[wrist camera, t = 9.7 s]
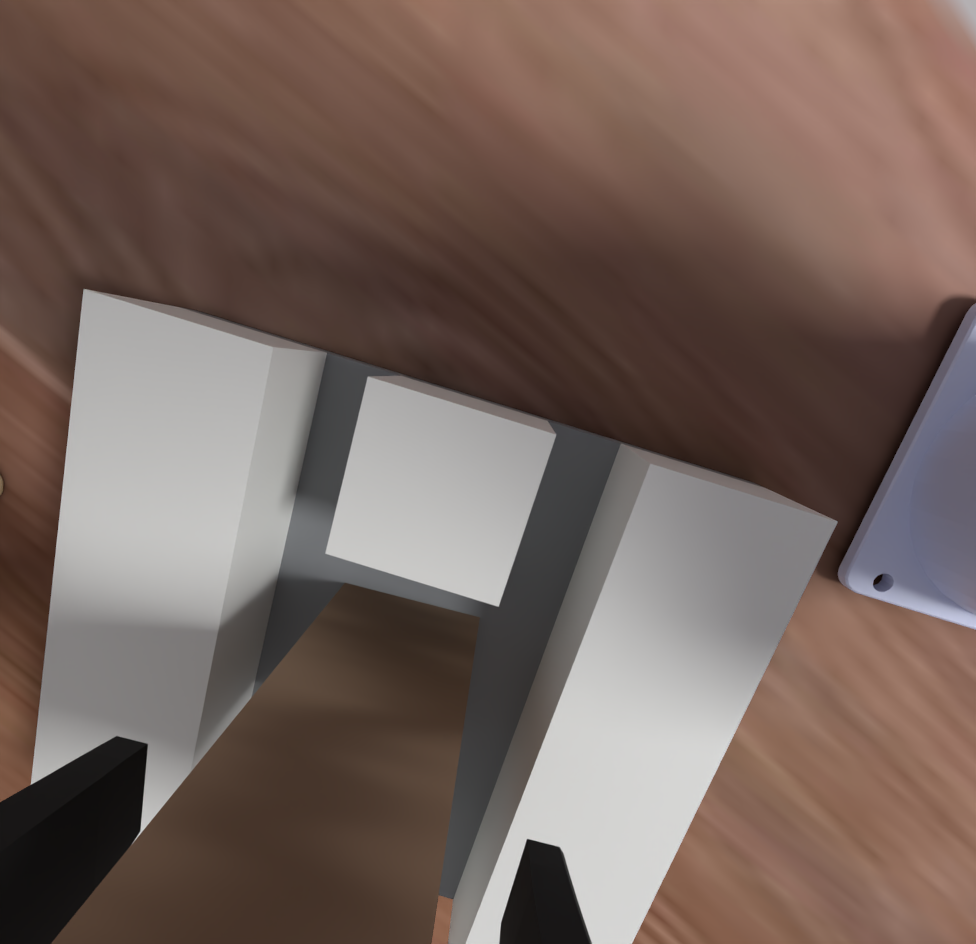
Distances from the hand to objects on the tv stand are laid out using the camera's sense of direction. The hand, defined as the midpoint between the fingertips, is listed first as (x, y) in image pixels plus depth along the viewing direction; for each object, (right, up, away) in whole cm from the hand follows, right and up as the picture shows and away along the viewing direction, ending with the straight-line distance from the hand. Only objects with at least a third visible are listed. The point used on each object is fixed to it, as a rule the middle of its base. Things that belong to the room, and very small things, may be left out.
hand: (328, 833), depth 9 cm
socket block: (0, +1, +6) cm, 6 cm away
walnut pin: (0, +1, +5) cm, 6 cm away
